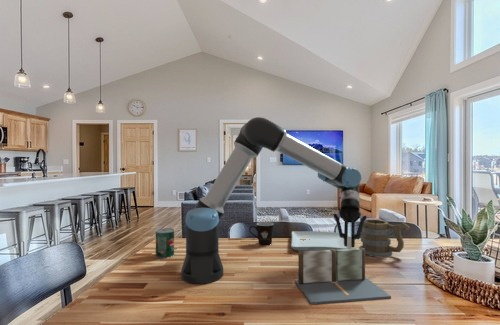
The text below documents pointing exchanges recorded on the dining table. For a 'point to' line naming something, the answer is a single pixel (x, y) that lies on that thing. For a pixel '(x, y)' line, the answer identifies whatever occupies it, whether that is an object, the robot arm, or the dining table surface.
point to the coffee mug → (264, 232)
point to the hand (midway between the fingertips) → (349, 254)
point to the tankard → (381, 237)
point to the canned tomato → (164, 243)
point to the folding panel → (350, 264)
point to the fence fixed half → (316, 266)
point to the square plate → (316, 241)
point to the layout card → (341, 291)
